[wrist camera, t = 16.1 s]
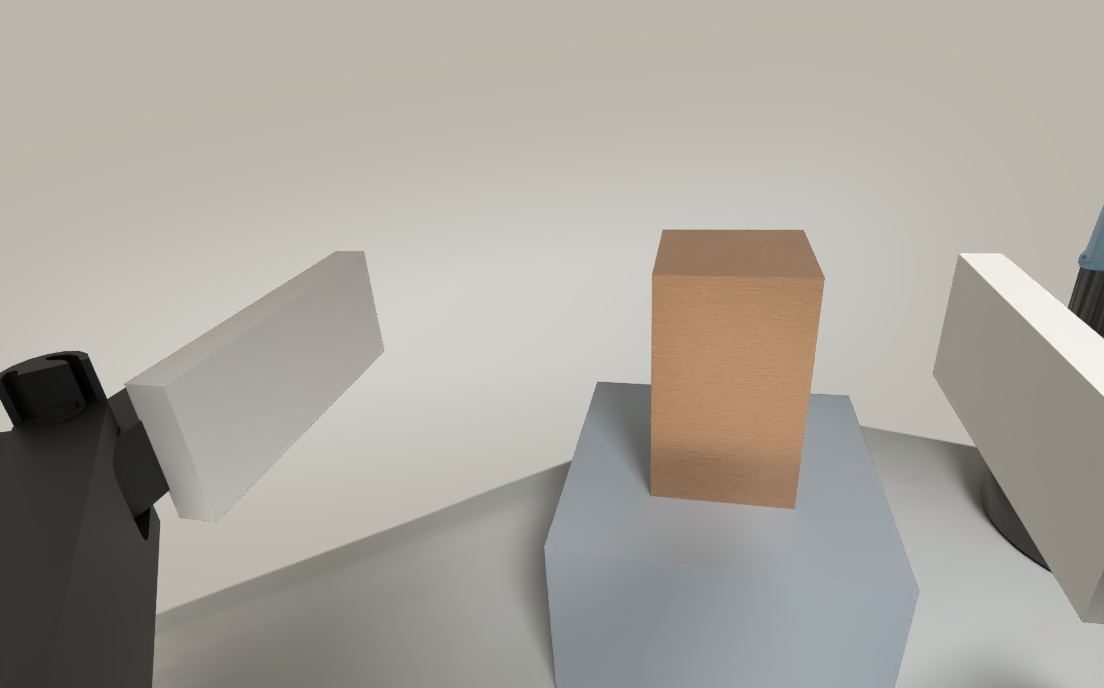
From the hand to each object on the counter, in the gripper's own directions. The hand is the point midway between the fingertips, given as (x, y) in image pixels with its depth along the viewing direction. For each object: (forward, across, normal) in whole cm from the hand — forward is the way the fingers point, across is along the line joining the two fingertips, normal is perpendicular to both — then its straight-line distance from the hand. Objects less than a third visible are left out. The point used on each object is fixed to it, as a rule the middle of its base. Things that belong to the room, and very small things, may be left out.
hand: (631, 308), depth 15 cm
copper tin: (+16, +3, -16) cm, 23 cm away
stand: (+16, +3, -26) cm, 31 cm away
